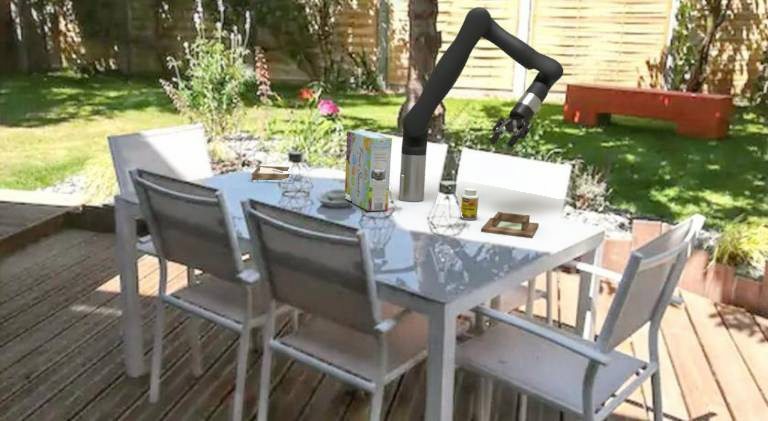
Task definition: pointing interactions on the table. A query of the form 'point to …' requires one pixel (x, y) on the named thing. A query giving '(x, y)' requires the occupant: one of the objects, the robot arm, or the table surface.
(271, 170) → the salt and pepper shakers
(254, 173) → the tray
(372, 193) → the snack box
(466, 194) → the supplement bottle
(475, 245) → the table surface
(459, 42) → the robot arm
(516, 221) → the brown wooden square frame
